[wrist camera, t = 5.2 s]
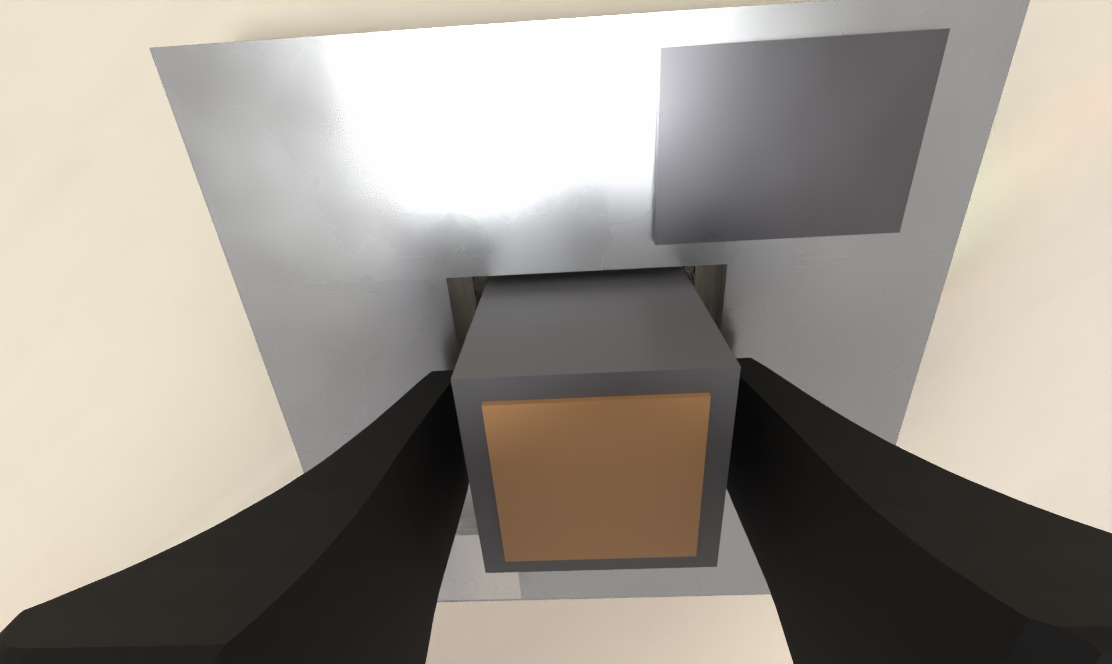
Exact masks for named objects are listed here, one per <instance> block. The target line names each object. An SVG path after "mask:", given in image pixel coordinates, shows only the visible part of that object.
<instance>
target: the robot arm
mask: <svg viewBox="0 0 1112 664" xmlns="http://www.w3.org/2000/svg"><path fill="white" fill-rule="evenodd" d="M736 359H737V361H738V363H739V364H740V366H741V370H740V378H739V387H738V395H737V403H736V412H735V420H734V428H733V437H732V445H731V453H730V462H729V470H728V479H727V487H726V488H727V491H728V493H729V495H730V498H731V500H732V503H733V505H734V507H735V510H736V512H737V515H738V517H739V519H740V522H741V524H742V526H743V529H744V531H745V533H746V536H747V538H748V540H749V543H750V545H751V547H752V549H753V552H754V554H755V556H756V559H757V561H758V563H759V566H760V568H761V570H762V573H763V575H764V577H765V580H766V582H767V585H768V588H769V590H770V593H771V595H772V598H773V601H774V603H775V606H776V609H777V612H778V615H779V619H780V622H781V625H782V628H783V631H784V635H785V638H786V641H787V644H788V647H789V650H790V654H791V657H792V660H793V663H794V664H1112V533H1109V532H1106V531H1103V530H1100V529H1097V528H1094V527H1091V526H1088V525H1085V524H1082V523H1079V522H1077V521H1074V520H1071V519H1068V518H1065V517H1062V516H1059V515H1056V514H1054V513H1051V512H1048V511H1046V510H1043V509H1040V508H1037V507H1035V506H1032V505H1029V504H1027V503H1024V502H1021V501H1019V500H1016V499H1014V498H1011V497H1009V496H1007V495H1004V494H1002V493H999V492H997V491H994V490H992V489H989V488H987V487H984V486H982V485H979V484H977V483H975V482H972V481H970V480H967V479H965V478H963V477H961V476H958V475H956V474H954V473H952V472H949V471H947V470H945V469H943V468H941V467H938V466H936V465H934V464H932V463H930V462H928V461H926V460H924V459H922V458H920V457H918V456H916V455H914V454H912V453H909V452H907V451H905V450H903V449H901V448H899V447H897V446H896V445H894V444H892V443H890V442H888V441H886V440H884V439H882V438H880V437H879V436H877V435H875V434H873V433H872V432H870V431H868V430H866V429H865V428H863V427H861V426H859V425H857V424H856V423H854V422H852V421H850V420H849V419H847V418H845V417H844V416H842V415H840V414H839V413H837V412H835V411H834V410H832V409H831V408H829V407H827V406H826V405H824V404H823V403H821V402H819V401H818V400H816V399H815V398H813V397H812V396H810V395H809V394H807V393H805V392H804V391H802V390H801V389H799V388H798V387H796V386H795V385H793V384H792V383H790V382H789V381H787V380H786V379H784V378H783V377H781V376H780V375H778V374H777V373H775V372H774V371H772V370H771V369H769V368H767V367H766V366H764V365H763V364H761V363H759V362H758V361H756V360H754V359H752V358H736ZM453 371H454V370H445V371H431V372H430V373H429V374H428V375H426V376H425V377H424V378H423V379H421V380H420V381H419V382H418V383H417V384H416V385H415V386H413V387H412V388H411V389H410V390H409V391H408V392H407V393H406V394H404V395H403V396H402V397H401V398H400V399H399V400H398V401H397V402H395V403H394V404H393V405H392V406H391V407H390V408H388V409H387V410H386V411H385V412H384V413H383V414H382V415H380V416H379V417H378V418H377V419H376V420H375V421H373V422H372V423H371V424H370V425H369V426H367V427H366V428H365V429H363V430H362V431H361V432H360V433H358V434H357V435H356V436H354V437H353V438H352V439H351V440H349V441H348V442H347V443H346V444H344V445H343V446H342V447H340V448H339V449H338V450H337V451H335V452H334V453H333V454H331V455H330V456H329V457H327V458H326V459H324V460H323V461H322V462H320V463H319V464H317V465H316V466H315V467H313V468H312V469H310V470H309V471H307V472H306V473H304V474H303V475H301V476H300V477H298V478H296V479H295V480H293V481H292V482H290V483H289V484H287V485H286V486H284V487H283V488H281V489H279V490H278V491H276V492H274V493H273V494H271V495H269V496H268V497H266V498H264V499H262V500H260V501H259V502H257V503H255V504H253V505H252V506H250V507H248V508H246V509H245V510H243V511H241V512H239V513H237V514H236V515H234V516H232V517H230V518H229V519H227V520H225V521H223V522H222V523H220V524H218V525H216V526H214V527H212V528H210V529H208V530H206V531H204V532H202V533H200V534H198V535H196V536H194V537H192V538H190V539H188V540H186V541H184V542H182V543H180V544H178V545H176V546H174V547H172V548H170V549H168V550H166V551H163V552H161V553H159V554H157V555H155V556H153V557H151V558H149V559H146V560H144V561H142V562H140V563H138V564H135V565H133V566H131V567H129V568H126V569H124V570H122V571H120V572H117V573H115V574H112V575H110V576H107V577H105V578H103V579H100V580H98V581H95V582H93V583H90V584H88V585H86V586H83V587H81V588H78V589H76V590H74V591H71V592H69V593H66V594H64V595H61V596H59V597H57V598H54V599H52V600H49V601H47V602H44V603H42V604H39V605H37V606H34V607H31V608H29V609H26V610H24V611H22V612H21V613H20V614H19V615H18V616H17V617H16V618H15V619H14V620H13V621H12V622H11V623H10V624H9V625H8V626H7V627H6V628H5V629H4V630H3V631H2V632H1V633H0V664H425V663H426V657H427V651H428V646H429V640H430V634H431V629H432V623H433V618H434V612H435V608H436V604H437V600H438V596H439V591H440V588H441V584H442V580H443V577H444V573H445V570H446V566H447V563H448V559H449V556H450V552H451V549H452V545H453V542H454V538H455V535H456V531H457V527H458V524H459V520H460V517H461V513H462V509H463V506H464V502H465V498H466V495H467V491H468V485H469V478H468V473H467V467H466V462H465V456H464V451H463V445H462V440H461V434H460V428H459V423H458V417H457V412H456V406H455V401H454V395H453V390H452V384H451V377H452V374H453Z"/></svg>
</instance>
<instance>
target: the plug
mask: <svg viewBox="0 0 1112 664" xmlns="http://www.w3.org/2000/svg"><path fill="white" fill-rule="evenodd" d="M740 370H741V366H740V364H739V363H738V361H737V359H736V358H735V356H734V354H733V353H732V351H731V349H730V347H729V346H728V344H727V342H726V341H725V339H724V337H723V336H722V334H721V332H720V330H719V329H718V327H717V325H716V324H715V322H714V320H713V319H712V317H711V315H710V313H709V312H708V310H707V308H706V307H705V305H704V303H703V302H702V300H701V298H700V296H699V295H698V293H697V291H696V290H695V288H694V286H693V285H692V283H691V281H690V279H689V278H688V276H687V274H686V273H685V271H684V269H683V268H682V266H678V267H658V268H638V269H618V270H598V271H578V272H558V273H538V274H518V275H498V276H488V279H487V282H486V285H485V287H484V290H483V293H482V295H481V298H480V301H479V304H478V306H477V309H476V312H475V314H474V317H473V320H472V323H471V325H470V328H469V331H468V333H467V336H466V339H465V342H464V344H463V347H462V350H461V352H460V355H459V358H458V361H457V363H456V366H455V369H454V371H453V374H452V377H451V384H452V390H453V395H454V401H455V406H456V412H457V417H458V423H459V428H460V434H461V440H462V445H463V451H464V456H465V462H466V467H467V473H468V478H469V484H470V489H471V495H472V500H473V506H474V512H475V517H476V523H477V528H478V534H479V539H480V545H481V550H482V556H483V561H484V567H485V573H507V572H545V571H582V570H619V569H656V568H693V567H717V562H718V554H719V545H720V537H721V529H722V520H723V512H724V504H725V495H726V487H727V479H728V470H729V462H730V453H731V445H732V437H733V428H734V420H735V412H736V403H737V395H738V387H739V378H740Z"/></svg>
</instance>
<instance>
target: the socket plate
mask: <svg viewBox="0 0 1112 664" xmlns="http://www.w3.org/2000/svg"><path fill="white" fill-rule="evenodd" d="M1029 2H1030V0H825V1H810V2H796V3H782V4H768V5H753V6H739V7H725V8H711V9H696V10H682V11H668V12H654V13H639V14H625V15H611V16H597V17H582V18H568V19H554V20H540V21H525V22H511V23H497V24H483V25H468V26H454V27H440V28H426V29H411V30H397V31H383V32H369V33H354V34H340V35H326V36H311V37H297V38H283V39H269V40H254V41H240V42H226V43H212V44H197V45H183V46H169V47H155V48H150V51H151V54H152V57H153V59H154V62H155V65H156V67H157V70H158V73H159V76H160V78H161V81H162V84H163V87H164V89H165V92H166V95H167V98H168V100H169V103H170V106H171V109H172V111H173V114H174V117H175V120H176V122H177V125H178V128H179V131H180V133H181V136H182V139H183V142H184V144H185V147H186V150H187V152H188V155H189V158H190V161H191V163H192V166H193V169H194V172H195V174H196V177H197V180H198V183H199V185H200V188H201V191H202V194H203V196H204V199H205V202H206V205H207V207H208V210H209V213H210V216H211V218H212V221H213V224H214V227H215V229H216V232H217V235H218V237H219V240H220V243H221V246H222V248H223V251H224V254H225V257H226V259H227V262H228V265H229V268H230V270H231V273H232V276H233V279H234V281H235V284H236V287H237V290H238V292H239V295H240V298H241V301H242V303H243V306H244V309H245V311H246V314H247V317H248V320H249V322H250V325H251V328H252V331H253V333H254V336H255V339H256V342H257V344H258V347H259V350H260V353H261V355H262V358H263V361H264V364H265V366H266V369H267V372H268V375H269V377H270V380H271V383H272V386H273V388H274V391H275V394H276V396H277V399H278V402H279V405H280V407H281V410H282V413H283V416H284V418H285V421H286V424H287V427H288V429H289V432H290V435H291V438H292V440H293V443H294V446H295V449H296V451H297V454H298V457H299V460H300V462H301V465H302V468H303V471H304V473H306V472H307V471H309V470H310V469H312V468H313V467H315V466H316V465H317V464H319V463H320V462H322V461H323V460H324V459H326V458H327V457H329V456H330V455H331V454H333V453H334V452H335V451H337V450H338V449H339V448H340V447H342V446H343V445H344V444H346V443H347V442H348V441H349V440H351V439H352V438H353V437H354V436H356V435H357V434H358V433H360V432H361V431H362V430H363V429H365V428H366V427H367V426H369V425H370V424H371V423H372V422H373V421H375V420H376V419H377V418H378V417H379V416H380V415H382V414H383V413H384V412H385V411H386V410H387V409H388V408H390V407H391V406H392V405H393V404H394V403H395V402H397V401H398V400H399V399H400V398H401V397H402V396H403V395H404V394H406V393H407V392H408V391H409V390H410V389H411V388H412V387H413V386H415V385H416V384H417V383H418V382H419V381H420V380H421V379H423V378H424V377H425V376H426V375H428V374H429V373H430V372H431V371H445V370H454V369H455V366H456V363H457V361H458V358H459V355H460V352H461V350H462V347H463V344H464V342H465V339H466V336H467V333H468V331H469V328H470V325H471V323H472V320H473V317H474V314H475V312H476V309H477V305H476V298H475V291H474V283H473V277H478V276H498V275H518V274H538V273H558V272H578V271H598V270H618V269H638V268H658V267H678V266H695V278H694V288H695V290H696V291H697V293H698V295H699V296H700V298H701V300H702V302H703V303H704V305H705V307H706V308H707V310H708V312H709V313H710V315H711V317H712V319H713V320H714V322H715V324H716V325H717V327H718V329H719V330H720V332H721V334H722V336H723V337H724V339H725V341H726V342H727V344H728V346H729V347H730V349H731V351H732V353H733V354H734V356H735V358H752V359H754V360H756V361H758V362H759V363H761V364H763V365H764V366H766V367H767V368H769V369H771V370H772V371H774V372H775V373H777V374H778V375H780V376H781V377H783V378H784V379H786V380H787V381H789V382H790V383H792V384H793V385H795V386H796V387H798V388H799V389H801V390H802V391H804V392H805V393H807V394H809V395H810V396H812V397H813V398H815V399H816V400H818V401H819V402H821V403H823V404H824V405H826V406H827V407H829V408H831V409H832V410H834V411H835V412H837V413H839V414H840V415H842V416H844V417H845V418H847V419H849V420H850V421H852V422H854V423H856V424H857V425H859V426H861V427H863V428H865V429H866V430H868V431H870V432H872V433H873V434H875V435H877V436H879V437H880V438H882V439H884V440H886V441H888V442H890V443H892V444H894V445H896V442H897V439H898V435H899V432H900V429H901V425H902V422H903V419H904V415H905V412H906V409H907V405H908V402H909V399H910V396H911V392H912V389H913V386H914V382H915V379H916V376H917V372H918V369H919V366H920V362H921V359H922V356H923V353H924V349H925V346H926V343H927V339H928V336H929V333H930V329H931V326H932V323H933V319H934V316H935V313H936V309H937V306H938V303H939V300H940V296H941V293H942V290H943V286H944V283H945V280H946V276H947V273H948V270H949V266H950V263H951V260H952V257H953V253H954V250H955V247H956V243H957V240H958V237H959V233H960V230H961V227H962V223H963V220H964V217H965V214H966V210H967V207H968V204H969V200H970V197H971V194H972V190H973V187H974V184H975V180H976V177H977V174H978V171H979V167H980V164H981V161H982V157H983V154H984V151H985V147H986V144H987V141H988V137H989V134H990V131H991V128H992V124H993V121H994V118H995V114H996V111H997V108H998V104H999V101H1000V98H1001V94H1002V91H1003V88H1004V85H1005V81H1006V78H1007V75H1008V71H1009V68H1010V65H1011V61H1012V58H1013V55H1014V51H1015V48H1016V45H1017V42H1018V38H1019V35H1020V32H1021V28H1022V25H1023V22H1024V18H1025V15H1026V12H1027V8H1028V5H1029ZM756 594H771V593H770V590H769V588H768V585H767V582H766V580H765V577H764V575H763V573H762V570H761V568H760V566H759V563H758V561H757V559H756V556H755V554H754V552H753V549H752V547H751V545H750V543H749V540H748V538H747V536H746V533H745V531H744V529H743V526H742V524H741V522H740V519H739V517H738V515H737V512H736V510H735V507H734V505H733V503H732V500H731V498H730V495H729V493H728V491H727V488H726V495H725V504H724V512H723V520H722V529H721V537H720V545H719V554H718V562H717V567H693V568H656V569H619V570H582V571H545V572H507V573H485V567H484V561H483V556H482V550H481V545H480V539H479V534H478V528H477V523H476V517H475V512H474V506H473V500H472V495H471V489H470V484H469V485H468V491H467V495H466V498H465V502H464V506H463V509H462V513H461V517H460V520H459V524H458V527H457V531H456V535H455V538H454V542H453V545H452V549H451V552H450V556H449V559H448V563H447V566H446V570H445V573H444V577H443V580H442V584H441V588H440V591H439V596H438V600H437V602H463V601H505V600H546V599H588V598H630V597H672V596H714V595H756Z"/></svg>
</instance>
